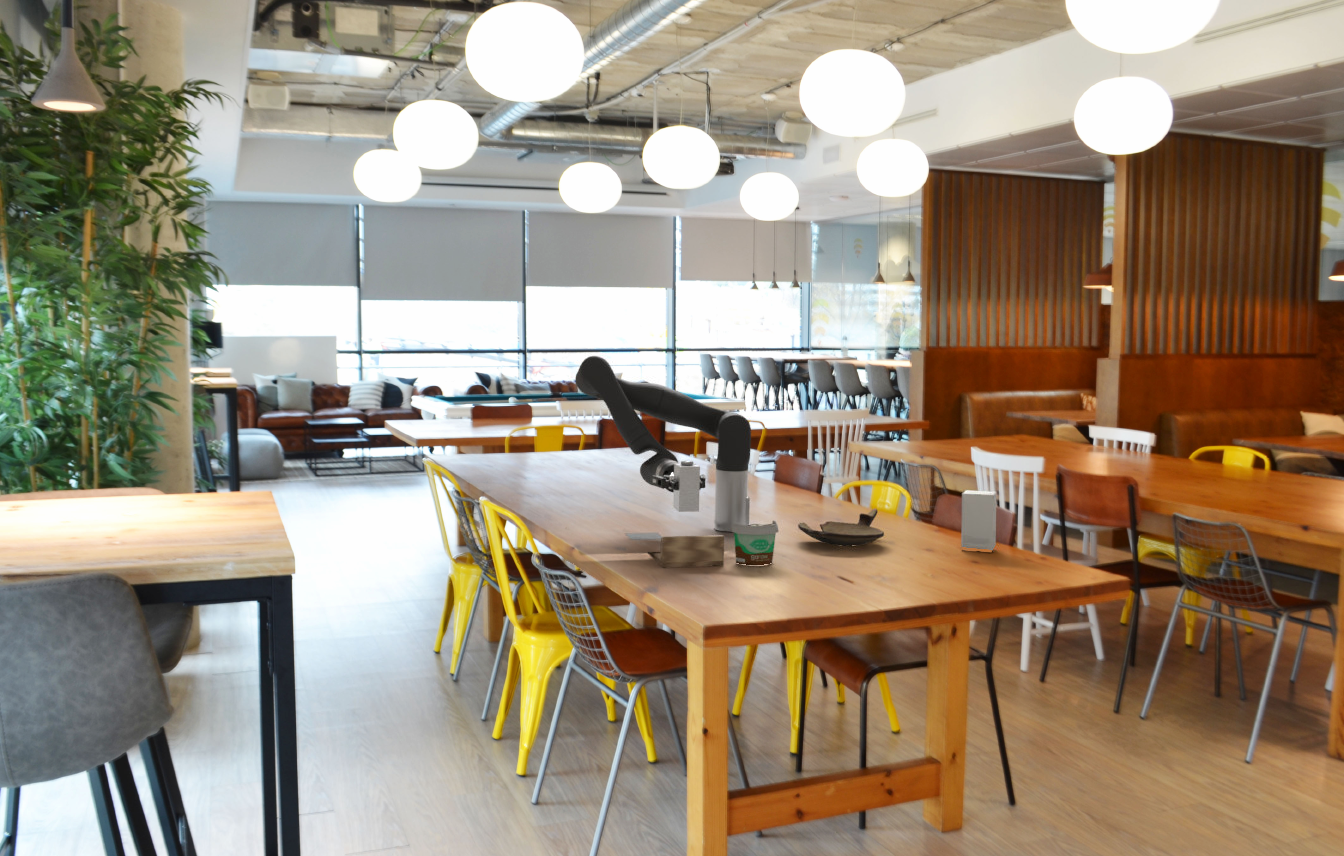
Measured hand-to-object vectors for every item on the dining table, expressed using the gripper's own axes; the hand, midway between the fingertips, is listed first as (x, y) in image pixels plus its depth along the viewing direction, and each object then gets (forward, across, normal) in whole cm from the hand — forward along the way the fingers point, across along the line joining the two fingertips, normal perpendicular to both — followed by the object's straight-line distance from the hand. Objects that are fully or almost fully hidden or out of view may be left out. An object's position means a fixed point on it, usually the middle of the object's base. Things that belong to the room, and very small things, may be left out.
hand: (688, 486), depth 254 cm
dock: (-3, 0, +19) cm, 19 cm away
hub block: (-2, 0, +6) cm, 6 cm away
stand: (-25, -5, +19) cm, 32 cm away
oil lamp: (-15, +49, +19) cm, 54 cm away
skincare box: (-2, +80, +19) cm, 82 cm away
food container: (+6, +17, +19) cm, 26 cm away
